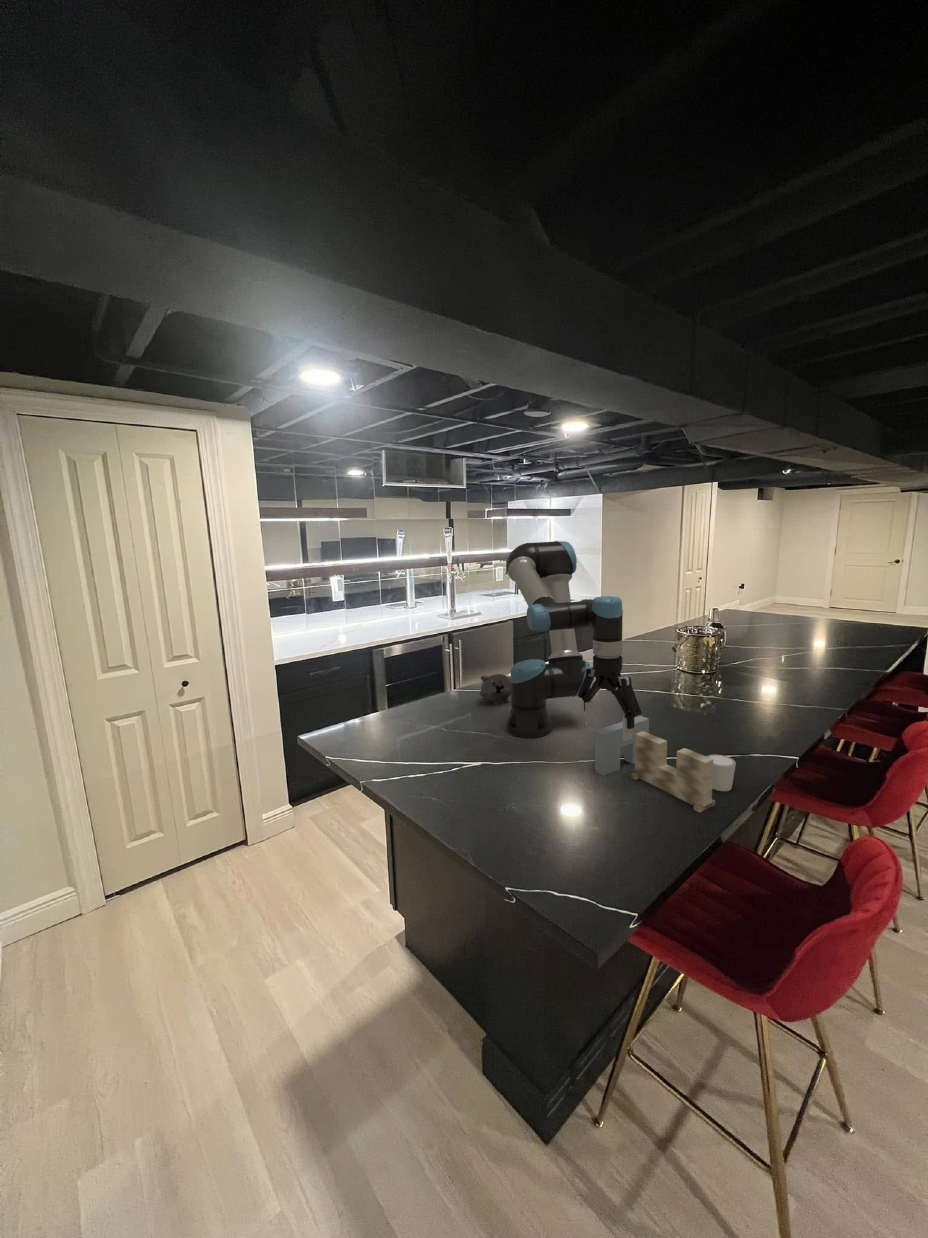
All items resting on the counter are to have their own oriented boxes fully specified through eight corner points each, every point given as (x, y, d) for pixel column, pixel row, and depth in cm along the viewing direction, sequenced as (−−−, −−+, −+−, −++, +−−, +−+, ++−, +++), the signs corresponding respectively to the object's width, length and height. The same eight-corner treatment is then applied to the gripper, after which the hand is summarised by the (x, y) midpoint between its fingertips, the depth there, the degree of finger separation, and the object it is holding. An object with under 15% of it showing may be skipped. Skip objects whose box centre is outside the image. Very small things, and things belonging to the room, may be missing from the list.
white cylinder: (707, 776, 127) (708, 751, 126) (737, 783, 123) (738, 758, 121) (701, 787, 122) (702, 761, 120) (731, 795, 117) (732, 769, 116)
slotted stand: (630, 777, 128) (631, 735, 126) (646, 771, 131) (646, 729, 129) (699, 812, 111) (701, 764, 109) (715, 804, 114) (717, 757, 112)
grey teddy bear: (473, 703, 191) (472, 675, 189) (504, 695, 198) (503, 668, 196) (489, 711, 181) (487, 682, 179) (520, 702, 189) (519, 674, 187)
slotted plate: (603, 776, 130) (603, 734, 128) (595, 771, 132) (595, 730, 130) (648, 758, 138) (648, 718, 136) (639, 754, 141) (640, 715, 139)
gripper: (564, 649, 136) (566, 720, 139) (635, 666, 114) (635, 750, 117) (584, 645, 139) (585, 715, 143) (656, 661, 118) (655, 743, 121)
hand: (607, 731), depth 130 cm, fingers open, 13 cm apart
